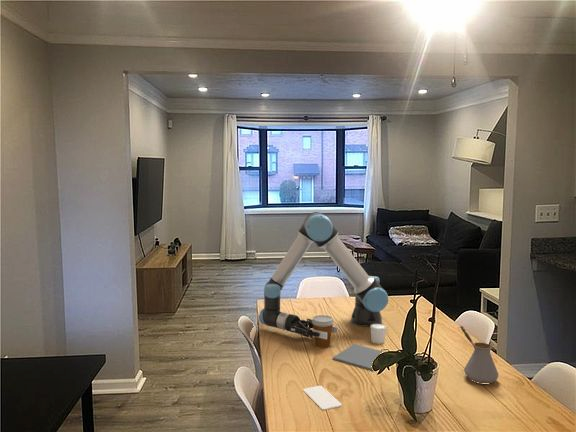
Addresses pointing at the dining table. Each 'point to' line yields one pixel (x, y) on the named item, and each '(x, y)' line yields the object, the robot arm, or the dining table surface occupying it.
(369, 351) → the grey rubber mat
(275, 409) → the dining table surface
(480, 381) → the coffee pot
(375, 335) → the white candle
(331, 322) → the disposable coffee cup
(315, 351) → the dining table surface
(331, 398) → the smartphone
